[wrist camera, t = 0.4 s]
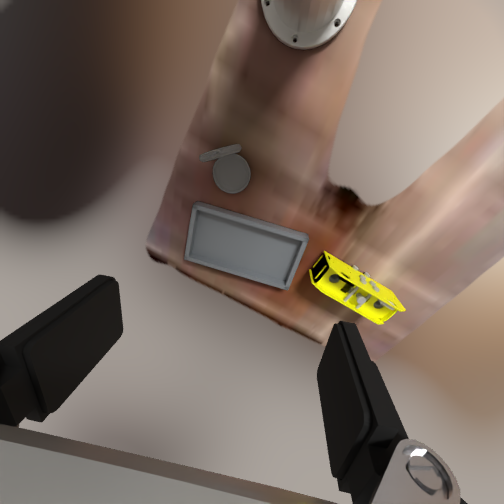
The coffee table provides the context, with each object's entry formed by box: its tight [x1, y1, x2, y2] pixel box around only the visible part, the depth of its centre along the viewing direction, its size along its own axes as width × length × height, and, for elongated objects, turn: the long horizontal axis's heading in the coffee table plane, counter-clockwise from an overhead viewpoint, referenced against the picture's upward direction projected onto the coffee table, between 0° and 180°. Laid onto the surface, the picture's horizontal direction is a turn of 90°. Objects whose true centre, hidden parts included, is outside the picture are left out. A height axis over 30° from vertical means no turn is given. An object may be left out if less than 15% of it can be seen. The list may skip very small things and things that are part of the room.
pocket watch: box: [199, 144, 251, 194], centre depth 37 cm, size 8×8×10 cm
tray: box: [184, 201, 309, 290], centre depth 46 cm, size 12×22×2 cm, turn 75°
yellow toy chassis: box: [309, 251, 406, 324], centre depth 43 cm, size 16×6×8 cm, turn 60°
